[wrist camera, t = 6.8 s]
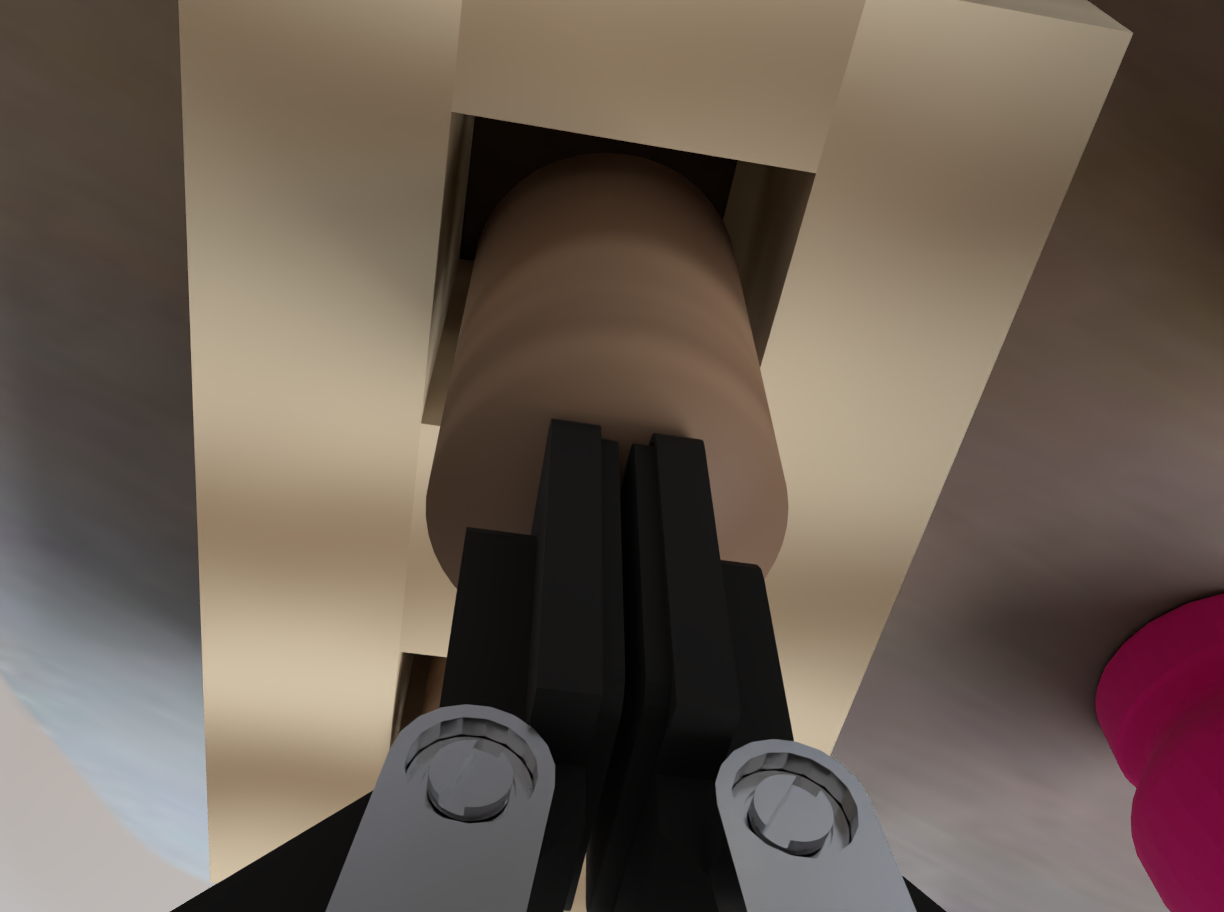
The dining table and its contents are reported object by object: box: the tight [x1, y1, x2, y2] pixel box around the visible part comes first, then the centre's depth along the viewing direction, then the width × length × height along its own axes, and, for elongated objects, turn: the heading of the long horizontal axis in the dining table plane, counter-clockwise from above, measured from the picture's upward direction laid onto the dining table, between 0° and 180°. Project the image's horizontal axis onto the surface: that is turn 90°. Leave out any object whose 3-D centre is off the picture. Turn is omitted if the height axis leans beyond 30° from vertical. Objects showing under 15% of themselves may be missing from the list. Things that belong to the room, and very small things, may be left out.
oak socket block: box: [178, 0, 1133, 912], centre depth 22 cm, size 20×12×6 cm, turn 170°
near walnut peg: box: [426, 153, 789, 589], centre depth 15 cm, size 4×4×6 cm
